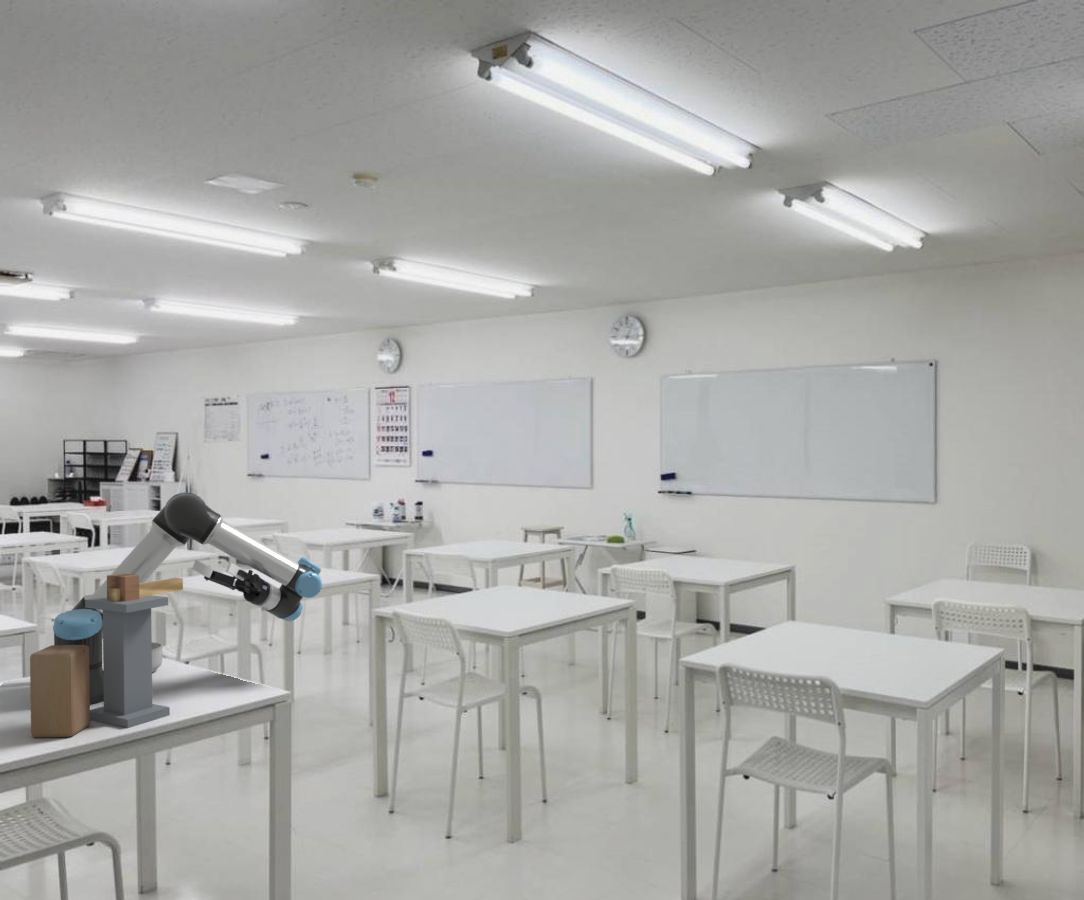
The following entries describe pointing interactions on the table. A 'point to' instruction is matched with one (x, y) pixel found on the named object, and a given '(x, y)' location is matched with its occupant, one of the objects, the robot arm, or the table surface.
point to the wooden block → (59, 690)
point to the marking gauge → (138, 587)
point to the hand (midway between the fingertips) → (211, 565)
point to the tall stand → (127, 661)
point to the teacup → (156, 655)
